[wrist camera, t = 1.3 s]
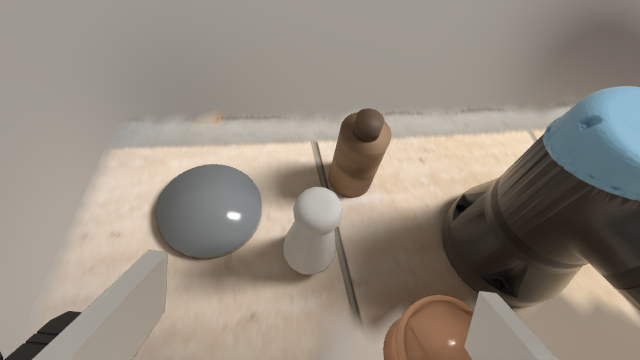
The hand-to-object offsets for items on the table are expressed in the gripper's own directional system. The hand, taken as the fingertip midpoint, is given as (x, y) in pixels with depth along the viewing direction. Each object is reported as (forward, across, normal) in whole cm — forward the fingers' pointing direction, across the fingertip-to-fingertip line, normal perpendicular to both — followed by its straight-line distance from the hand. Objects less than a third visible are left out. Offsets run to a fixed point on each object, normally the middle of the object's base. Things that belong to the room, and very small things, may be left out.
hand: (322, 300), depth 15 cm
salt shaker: (+25, 0, -10) cm, 27 cm away
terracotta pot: (+19, +13, -16) cm, 28 cm away
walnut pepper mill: (+33, +5, -2) cm, 33 cm away
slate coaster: (+28, -12, -7) cm, 31 cm away
